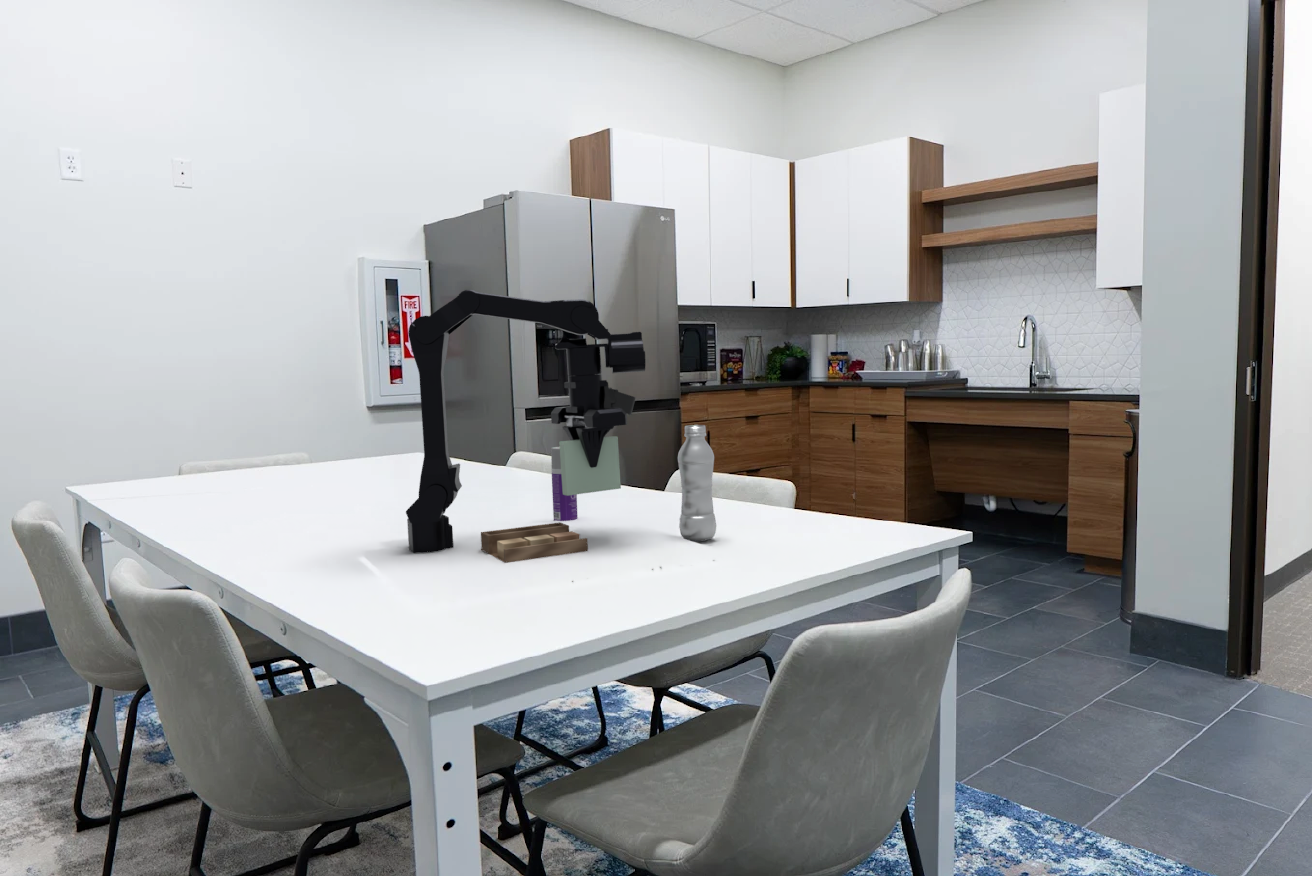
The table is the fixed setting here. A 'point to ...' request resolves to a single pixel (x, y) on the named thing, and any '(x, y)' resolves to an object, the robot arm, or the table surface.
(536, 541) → the offcut
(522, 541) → the offcut
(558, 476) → the container
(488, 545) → the rack
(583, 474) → the green rectangular block
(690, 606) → the table surface
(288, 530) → the table surface
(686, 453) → the plastic bottle
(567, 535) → the offcut
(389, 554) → the table surface
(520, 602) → the table surface
